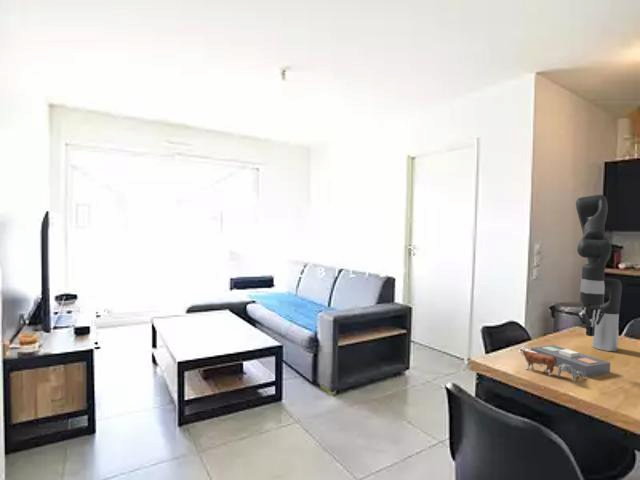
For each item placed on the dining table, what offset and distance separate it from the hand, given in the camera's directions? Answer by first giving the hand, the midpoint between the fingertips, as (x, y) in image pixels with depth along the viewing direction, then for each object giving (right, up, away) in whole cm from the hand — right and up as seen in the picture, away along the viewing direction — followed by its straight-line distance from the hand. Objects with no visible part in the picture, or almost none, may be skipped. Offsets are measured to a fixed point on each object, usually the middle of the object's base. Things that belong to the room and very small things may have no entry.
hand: (590, 335), depth 146 cm
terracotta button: (-1, -13, 0) cm, 13 cm away
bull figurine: (-22, -14, -1) cm, 26 cm away
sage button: (-6, -12, +14) cm, 20 cm away
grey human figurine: (-13, -14, -8) cm, 21 cm away
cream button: (-3, -11, +7) cm, 14 cm away
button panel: (-4, -14, +7) cm, 16 cm away
